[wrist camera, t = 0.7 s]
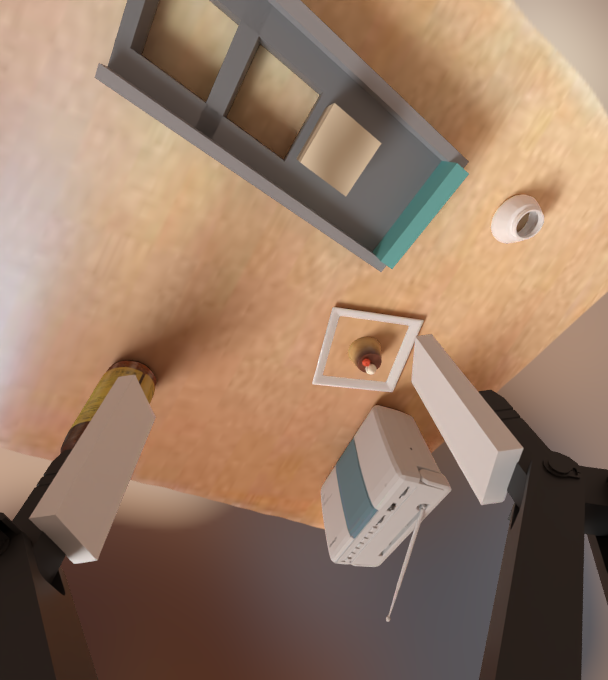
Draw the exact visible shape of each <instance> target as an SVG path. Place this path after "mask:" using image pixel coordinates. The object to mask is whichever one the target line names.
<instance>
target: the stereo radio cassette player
mask: <svg viewBox="0 0 608 680" xmlns="http://www.w3.org/2000/svg"><path fill="white" fill-rule="evenodd" d="M450 491H451V487H450V485H449V483H448V481H447V479H446V478H445V476H444V475H443V474H441V472H440V470H439V468H438V466H437V464H436V462H435V461H434V458H433V456H432V454H431V452H430V450H429V448H428V446H427V444H426V442H425V440H424V438H423V436H422V434H421V432H420V430H419V428H418V426H417V424H416V423H415V421H414V419H413V417H412V416H410V415H408V414H406V413H403V412H401V411H398V410H394V409H391V408H387V407H384V406H380V405H375V406H373V408H372V409H371V411H370V412H369V414H368V415H367V417H366V419H365V420H364V422H363V423H362V425H361V426H360V428H359V429H358V431H357V433H356V434H355V436H354V437H353V439H352V440H351V442H350V443H349V445H348V446H347V448H346V449H345V451H344V453H343V454H342V456H341V457H340V459H339V460H338V462H337V463H336V465H335V467H334V468H333V470H332V471H331V473H330V474H329V476H328V477H327V479H326V481H325V482H324V484H323V485H322V488H321V502H322V511H323V519H324V526H325V532H326V538H327V545H328V550H329V554H330V558H331V560H332V561H333V562H334V563H340V564H352V565H353V566H368V567H369V566H370V567H375V566H379V565H380V564H381V563H382V562H383V561H384V560H385V559H386V558H387V557H388V556H389V555H390V554H391V553H392V552H393V551H394V550H395V549H396V547H398V545H399V544H400V543H401V542H402V541H403V540H404V539H405V538H406V537H407V536H408V535H409V534H410V533H411V532H412V531H413V530H414V532H413V535H412V538H411V541H410V545H409V548H408V551H407V554H406V557H405V561H404V563H403V567H402V570H401V574H400V577H399V580H398V583H397V588H396V591H395V595H394V597H393V602H392V605H391V608H390V613H389V616H387V617H386V621H387V622H389V621H390V614H391V611H392V609H393V605H394V602H395V600H396V597H397V594H398V591H399V589H400V586H401V583H402V579H403V576H404V573H405V571H406V568H407V565H408V561H409V558H410V555H411V552H412V549H413V545H414V542H415V539H416V536H417V533H418V530H419V526H420V523H421V521H422V520H423V519H424V518H425V517H426V516H427V515H428V514H429V513H430V512H431V511H432V510H433V509H434V508H435V507H436V506H437V505H438V504H439V503H440V502H441V501H442V500H443V498H444V497H445V496H446V495H447V494H448V493H449V492H450Z"/></svg>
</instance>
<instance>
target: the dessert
mask: <svg viewBox="0 0 608 680" xmlns="http://www.w3.org/2000/svg"><path fill="white" fill-rule="evenodd" d="M340 316H346V317H353V318H360V319H367V320H374V321H381V322H388V323H395V324H402V325H408V326H409V328H408V330H407V333H406V335H405V338H404V340H403V342H402V345H401V347H400V350H399V352H398V355H397V357H396V359H395V362H394V364H393V367H392V369H391V372H390V374H389V377H388V379H387V381H386V382H379V381H370V380H360V379H351V378H341V377H332V376H323V372H324V368H325V365H326V361H327V358H328V354H329V351H330V347H331V344H332V340H333V337H334V333H335V330H336V326H337V323H338V319H339V317H340ZM423 322H424V320H420V319H413V318H406V317H400V316H393V315H386V314H379V313H372V312H365V311H359V310H352V309H345V308H338V307H333V308H332V311H331V315H330V319H329V323H328V326H327V330H326V334H325V338H324V341H323V345H322V349H321V352H320V356H319V360H318V364H317V367H316V371H315V375H314V378H313V382H312V384H315V385H325V386H335V387H344V388H354V389H364V390H374V391H383V392H393V391H394V388H395V386H396V384H397V382H398V379H399V377H400V375H401V372H402V370H403V368H404V365H405V363H406V361H407V359H408V356H409V354H410V352H411V349H412V347H413V345H414V343H415V336H418V333H419V331H420V329H421V327H422V324H423ZM348 357H349V359H350V360H351V361H352V362H353V363H354V364H355V365H356V366H357V367H358V368H359V369H360V370H361V371H362V372H366V373H368V374H374V373H375V372H376V370H377V369H378V368H379V367H380V365H381V345H380V343H379V341H378V340H376V339H375V338H372V337H362V338H359V339H357V340H355V341H354V342H353V343H352V344H351V345H350V347H349V349H348Z"/></svg>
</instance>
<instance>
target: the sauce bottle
mask: <svg viewBox="0 0 608 680" xmlns="http://www.w3.org/2000/svg"><path fill="white" fill-rule="evenodd" d="M128 375H136V378H137V380H138V382H139V384H140V386H141V388H142V390H143V392H144V394H145V396H146V398H147V400H148V402H149V404H150V402H151V400H152V397H153V395H154V391H155V385H156V377H155V376H154V374H153V372H152V371H151V370H150V369H149V368H148V367H147V366H146V365H144V364H141V363H140V362H134V361H131V360H129V361H126V360H125V361H120V362H118V363H115V364H114V365H112V366H111V367H110V368H109V369H108V370H107V372H106V373H105V374H104V375H103V377H102V378H101V380H100V381H99V383H98V385H97V386H96V388H95V389H94V391H93V393H92V394H91V396H90V398H89V399H88V401H87V403H86V404H85V406H84V408H83V409H82V411H81V412H80V414H79V416H78V417H77V419H76V420H75V422H74V424H73V425H72V427H71V429H70V430H69V432H68V434H67V436H66V438H65V440H64V442H63V445H62V447H61V453H62V452H63V451H64V450H69V449H73V448H74V446H75V445H76V443H77V442H78V440H79V438H80V437H81V435H82V434H83V432H84V431H85V429H86V427H87V426H88V424H89V423H90V421H91V419H92V418H93V416H94V415H95V413H96V412H97V410H98V408H99V407H100V405H101V404H102V402H103V401H104V399H105V397H106V396H107V394H108V393H109V391H110V389H111V388H112V386H113V385H114V383H115V382H116V380H117V378H118V377H121V376H128Z"/></svg>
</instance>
